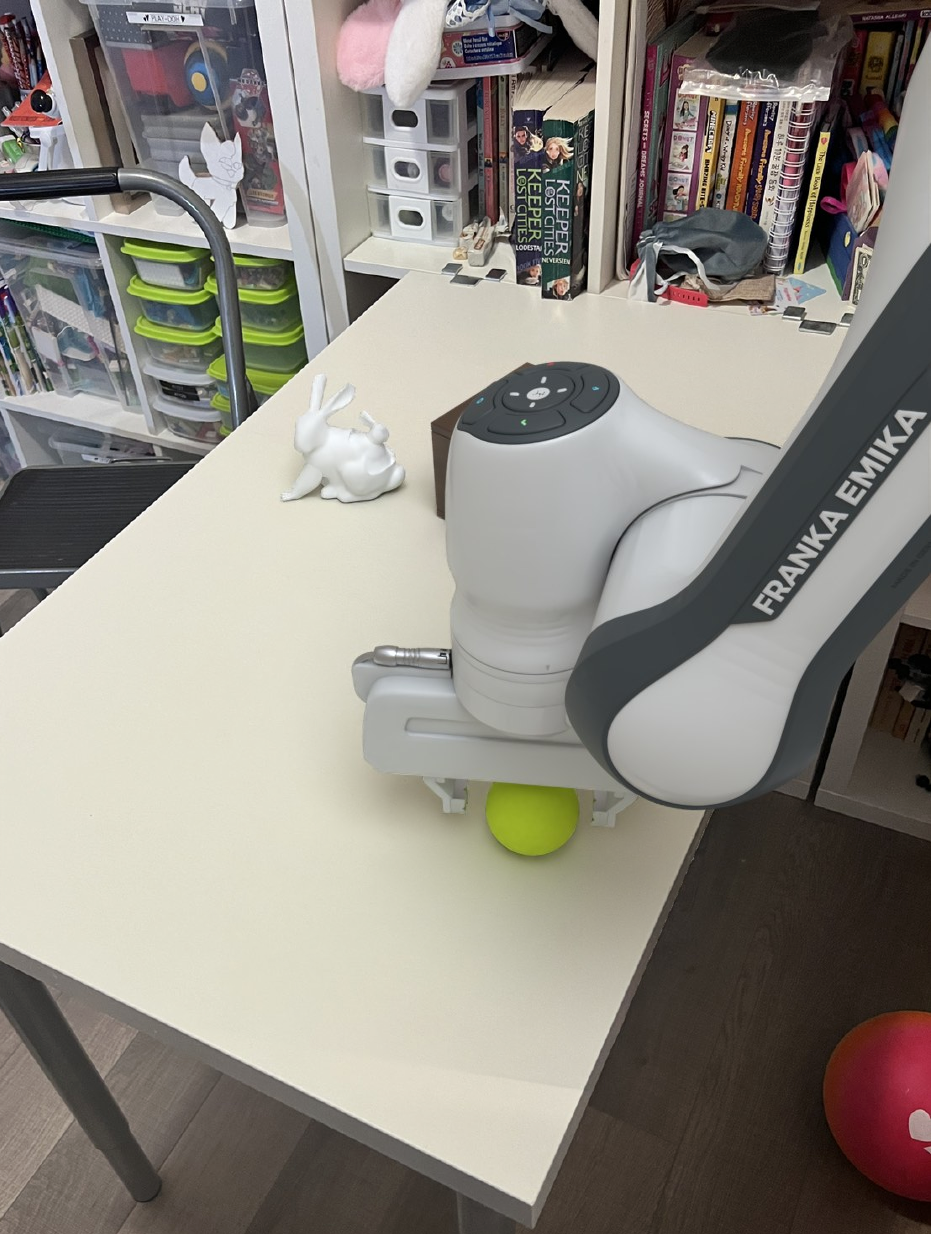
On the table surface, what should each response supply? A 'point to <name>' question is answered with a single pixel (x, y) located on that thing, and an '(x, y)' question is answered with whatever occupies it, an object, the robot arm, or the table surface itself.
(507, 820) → the ball
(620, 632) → the robot arm
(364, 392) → the table surface
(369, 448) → the rabbit figurine
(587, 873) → the table surface
